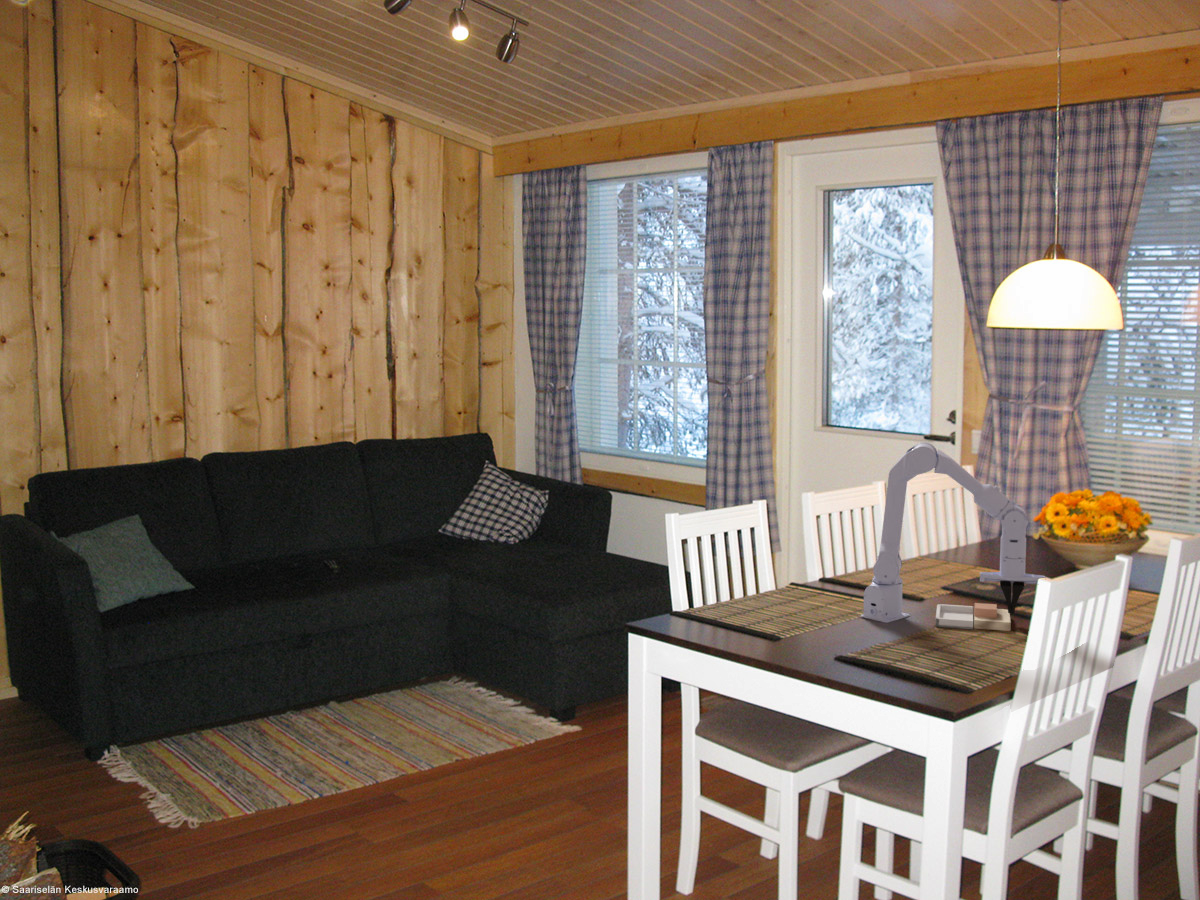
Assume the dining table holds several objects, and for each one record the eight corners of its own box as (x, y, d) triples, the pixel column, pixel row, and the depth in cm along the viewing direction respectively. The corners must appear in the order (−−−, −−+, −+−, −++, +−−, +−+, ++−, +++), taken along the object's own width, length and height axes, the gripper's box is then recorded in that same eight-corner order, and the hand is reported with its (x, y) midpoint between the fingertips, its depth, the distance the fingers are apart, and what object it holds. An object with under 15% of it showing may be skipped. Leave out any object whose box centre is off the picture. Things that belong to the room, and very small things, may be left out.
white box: (974, 628, 262) (974, 620, 261) (974, 615, 273) (974, 607, 273) (1010, 630, 259) (1010, 622, 259) (1008, 617, 270) (1009, 609, 270)
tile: (974, 616, 265) (974, 608, 265) (974, 611, 269) (974, 602, 269) (996, 617, 263) (996, 609, 263) (996, 612, 268) (996, 604, 268)
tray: (935, 626, 264) (935, 618, 263) (937, 611, 277) (937, 603, 276) (973, 629, 261) (973, 621, 261) (972, 614, 274) (973, 606, 274)
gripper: (1044, 554, 264) (1042, 610, 266) (980, 551, 269) (978, 606, 270) (1046, 560, 258) (1044, 617, 259) (980, 557, 262) (979, 613, 264)
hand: (1011, 612), depth 264 cm, fingers closed
